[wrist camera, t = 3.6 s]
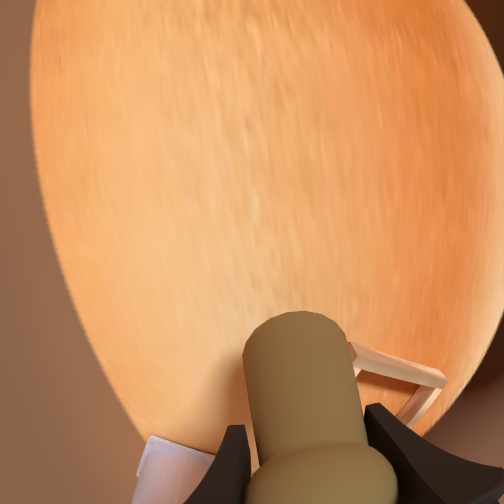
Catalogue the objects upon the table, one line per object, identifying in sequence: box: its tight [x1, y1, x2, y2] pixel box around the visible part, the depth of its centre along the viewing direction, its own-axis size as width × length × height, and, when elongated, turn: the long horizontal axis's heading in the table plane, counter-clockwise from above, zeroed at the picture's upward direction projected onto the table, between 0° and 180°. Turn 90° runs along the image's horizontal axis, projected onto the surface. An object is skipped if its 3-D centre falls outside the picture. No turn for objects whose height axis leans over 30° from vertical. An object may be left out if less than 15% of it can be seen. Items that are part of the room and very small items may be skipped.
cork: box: [243, 311, 399, 504], centre depth 11 cm, size 6×6×11 cm
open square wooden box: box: [348, 342, 448, 429], centre depth 22 cm, size 11×11×2 cm
